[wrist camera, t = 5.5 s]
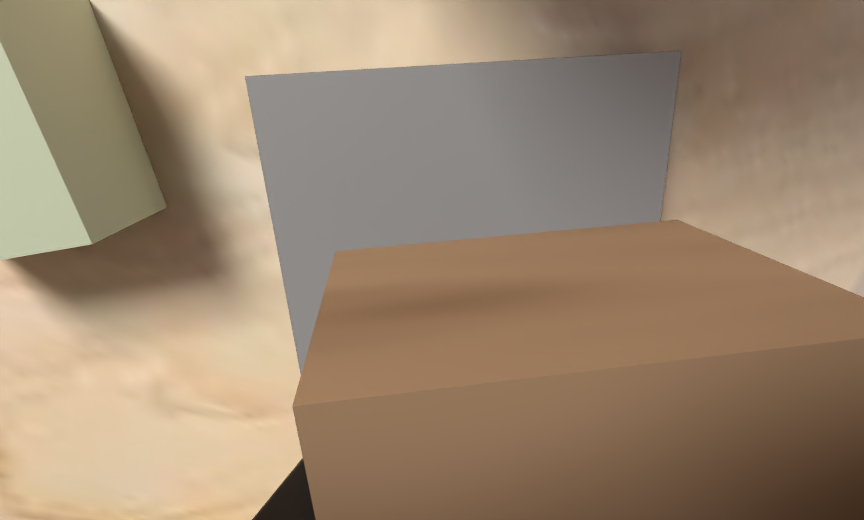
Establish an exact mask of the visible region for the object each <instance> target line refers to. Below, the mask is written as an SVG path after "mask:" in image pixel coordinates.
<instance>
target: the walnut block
mask: <svg viewBox="0 0 864 520" xmlns="http://www.w3.org/2000/svg"><path fill="white" fill-rule="evenodd" d="M293 411H294V416H295V421H296V426H297V431H298V436H299V440H300V445H301V450H302V455H303V460H304V465H305V470H306V475H307V480H308V485H309V490H310V495H311V500H312V504H313V509H314V514H315V519H316V520H864V297H861V296H859V295H856V294H854V293H852V292H849V291H847V290H844V289H842V288H840V287H837V286H835V285H832V284H830V283H828V282H825V281H823V280H820V279H818V278H816V277H813V276H811V275H808V274H806V273H804V272H801V271H799V270H796V269H794V268H792V267H789V266H787V265H784V264H782V263H780V262H777V261H775V260H772V259H770V258H768V257H765V256H763V255H760V254H758V253H756V252H753V251H751V250H748V249H746V248H744V247H741V246H739V245H736V244H734V243H732V242H729V241H727V240H724V239H722V238H720V237H717V236H715V235H712V234H710V233H708V232H705V231H703V230H700V229H698V228H696V227H693V226H691V225H688V224H686V223H684V222H681V221H679V220H670V221H659V222H648V223H637V224H627V225H616V226H605V227H594V228H583V229H572V230H561V231H550V232H539V233H528V234H517V235H506V236H495V237H485V238H474V239H463V240H452V241H441V242H430V243H419V244H408V245H397V246H386V247H375V248H364V249H353V250H342V251H335V254H334V258H333V261H332V265H331V268H330V272H329V276H328V279H327V283H326V287H325V290H324V294H323V298H322V301H321V305H320V308H319V312H318V316H317V319H316V323H315V327H314V330H313V334H312V338H311V341H310V345H309V348H308V352H307V356H306V359H305V363H304V367H303V370H302V374H301V378H300V381H299V385H298V388H297V392H296V396H295V399H294V403H293Z"/></svg>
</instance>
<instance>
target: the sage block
mask: <svg viewBox="0 0 864 520" xmlns="http://www.w3.org/2000/svg"><path fill="white" fill-rule="evenodd" d="M165 208H167V205H166V203H165V200H164V197H163V195H162V192H161V189H160V187H159V184H158V182H157V179H156V176H155V174H154V171H153V168H152V166H151V163H150V160H149V158H148V155H147V152H146V150H145V147H144V144H143V142H142V139H141V137H140V134H139V131H138V129H137V126H136V123H135V121H134V118H133V115H132V113H131V110H130V107H129V105H128V102H127V100H126V97H125V94H124V92H123V89H122V86H121V84H120V81H119V78H118V76H117V73H116V70H115V68H114V65H113V63H112V60H111V57H110V55H109V52H108V49H107V47H106V44H105V41H104V39H103V36H102V33H101V31H100V28H99V26H98V23H97V20H96V18H95V15H94V12H93V10H92V7H91V4H90V2H89V0H0V260H4V259H10V258H16V257H21V256H27V255H33V254H39V253H45V252H50V251H56V250H62V249H68V248H74V247H79V246H85V245H91V244H94V243H96V242H98V241H100V240H102V239H104V238H106V237H108V236H110V235H112V234H114V233H116V232H118V231H120V230H122V229H124V228H126V227H128V226H130V225H132V224H134V223H136V222H138V221H140V220H142V219H144V218H147V217H149V216H151V215H153V214H155V213H157V212H159V211H161V210H163V209H165Z"/></svg>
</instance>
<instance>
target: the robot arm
mask: <svg viewBox="0 0 864 520" xmlns="http://www.w3.org/2000/svg"><path fill="white" fill-rule="evenodd" d="M252 520H316V519H315V514H314V509H313V504H312V500H311V495H310V490H309V485H308V480H307V475H306V470H305V465H304V460H303V458H302V460H301V461H300V462H299V463H298V464H297V466H296V467H295V468H294V469H293V470H292V472H291V473H290V474H289V475H288V477H287V478H286V479H285V480H284V481H283V483H282V484H281V485H280V486H279V488H278V489H277V490H276V491H275V492H274V494H273V495H272V496H271V497H270V498H269V500H268V501H267V502H266V503H265V505H264V506H263V507H262V508H261V509H260V511H259V512H258V513H257V514H256V516H255V517H254V518H253V519H252Z"/></svg>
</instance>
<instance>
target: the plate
mask: <svg viewBox="0 0 864 520" xmlns="http://www.w3.org/2000/svg"><path fill="white" fill-rule="evenodd" d="M681 52H682V51H668V52H651V53H634V54H617V55H600V56H583V57H566V58H549V59H532V60H515V61H498V62H481V63H464V64H446V65H429V66H412V67H395V68H378V69H361V70H344V71H327V72H310V73H293V74H276V75H259V76H245V80H246V85H247V90H248V96H249V101H250V106H251V112H252V117H253V122H254V128H255V133H256V138H257V144H258V149H259V154H260V160H261V165H262V170H263V175H264V181H265V186H266V191H267V197H268V202H269V207H270V213H271V218H272V223H273V229H274V234H275V239H276V245H277V250H278V255H279V261H280V266H281V271H282V277H283V282H284V287H285V293H286V298H287V303H288V309H289V314H290V319H291V325H292V330H293V335H294V340H295V346H296V351H297V356H298V362H299V367H300V372H301V374H302V370H303V367H304V363H305V359H306V356H307V352H308V348H309V345H310V341H311V338H312V334H313V330H314V327H315V323H316V319H317V316H318V312H319V308H320V305H321V301H322V298H323V294H324V290H325V287H326V283H327V279H328V276H329V272H330V268H331V265H332V261H333V258H334V254H335V251H342V250H353V249H364V248H375V247H386V246H397V245H408V244H419V243H430V242H441V241H452V240H463V239H474V238H485V237H495V236H506V235H517V234H528V233H539V232H550V231H561V230H572V229H583V228H594V227H605V226H616V225H627V224H637V223H648V222H659V221H660V220H661V212H662V204H663V196H664V188H665V180H666V172H667V164H668V156H669V148H670V140H671V132H672V124H673V116H674V108H675V100H676V92H677V84H678V76H679V68H680V60H681Z"/></svg>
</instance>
